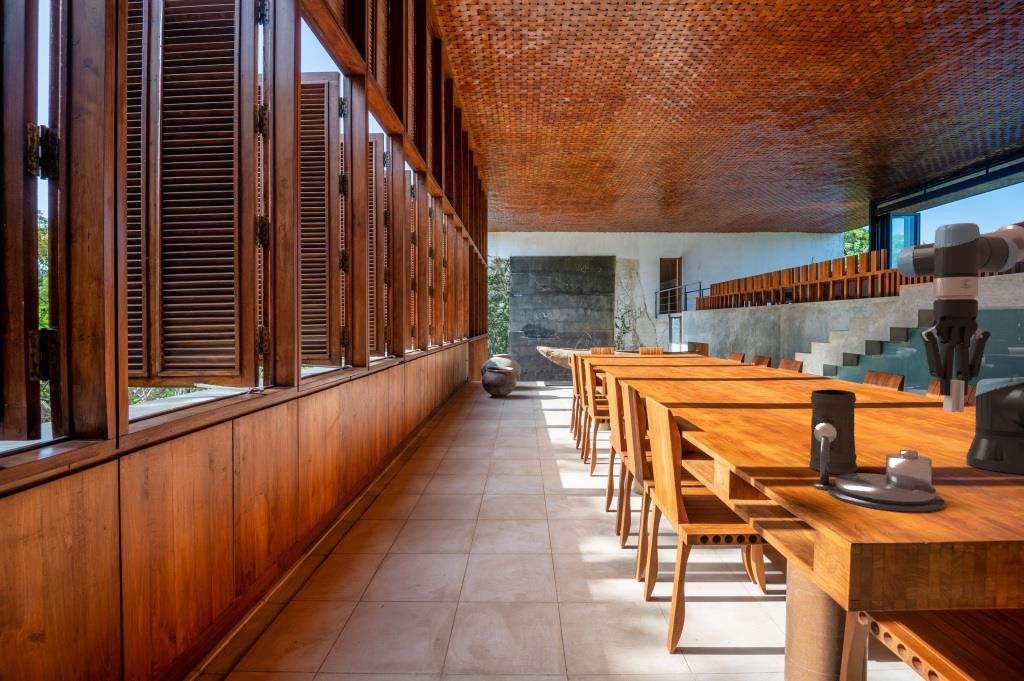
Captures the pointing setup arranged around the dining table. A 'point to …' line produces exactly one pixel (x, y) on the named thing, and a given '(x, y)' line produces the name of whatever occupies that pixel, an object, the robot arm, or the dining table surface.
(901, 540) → the dining table surface
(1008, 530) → the dining table surface
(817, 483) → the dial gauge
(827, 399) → the beer stein
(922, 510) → the base plate
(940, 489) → the dining table surface
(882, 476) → the turntable
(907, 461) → the cover
